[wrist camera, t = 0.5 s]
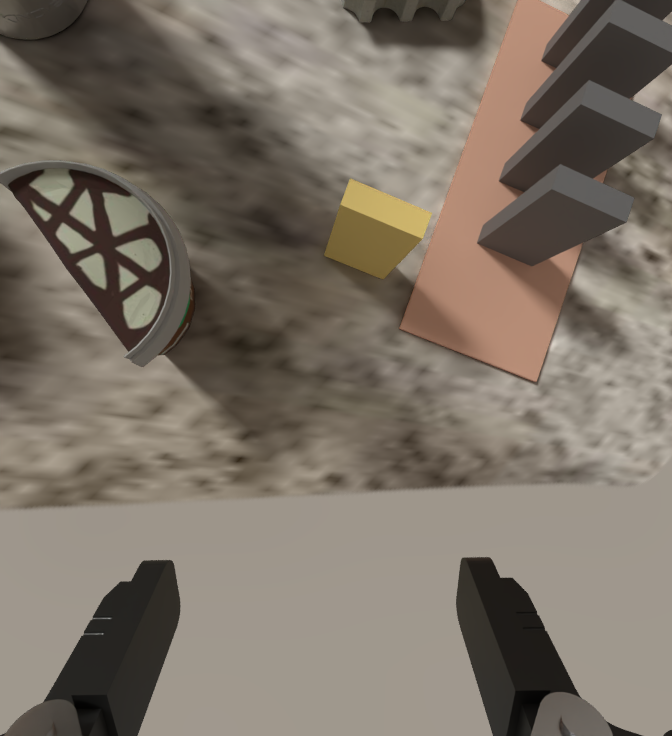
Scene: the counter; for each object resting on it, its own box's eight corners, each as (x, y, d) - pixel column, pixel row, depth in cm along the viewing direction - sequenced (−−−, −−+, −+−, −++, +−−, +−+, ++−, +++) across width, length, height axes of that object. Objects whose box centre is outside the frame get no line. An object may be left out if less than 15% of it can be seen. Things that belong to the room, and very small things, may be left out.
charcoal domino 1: (593, 86, 37) (706, -22, 27) (541, 60, 37) (636, -59, 27) (599, 68, 37) (713, -45, 27) (547, 43, 37) (644, -82, 27)
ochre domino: (383, 279, 35) (422, 238, 25) (323, 255, 34) (340, 204, 25) (389, 260, 35) (432, 213, 25) (331, 236, 35) (350, 178, 25)
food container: (245, 324, 34) (229, 299, 24) (176, 371, 33) (130, 366, 23) (149, 188, 33) (91, 105, 23) (76, 233, 32) (-15, 167, 22)
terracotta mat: (533, 381, 36) (536, 381, 36) (398, 328, 35) (400, 328, 35) (642, 56, 38) (646, 53, 38) (519, -4, 37) (521, -9, 37)
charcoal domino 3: (552, 204, 36) (654, 138, 26) (498, 181, 36) (580, 104, 26) (558, 187, 37) (661, 114, 27) (504, 163, 36) (589, 79, 26)
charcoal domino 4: (531, 266, 36) (626, 222, 26) (476, 243, 36) (551, 189, 26) (538, 248, 36) (634, 197, 26) (483, 225, 36) (560, 164, 26)
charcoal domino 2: (573, 144, 37) (680, 57, 27) (520, 120, 36) (609, 21, 26) (579, 127, 37) (688, 33, 27) (526, 102, 36) (617, -2, 27)
